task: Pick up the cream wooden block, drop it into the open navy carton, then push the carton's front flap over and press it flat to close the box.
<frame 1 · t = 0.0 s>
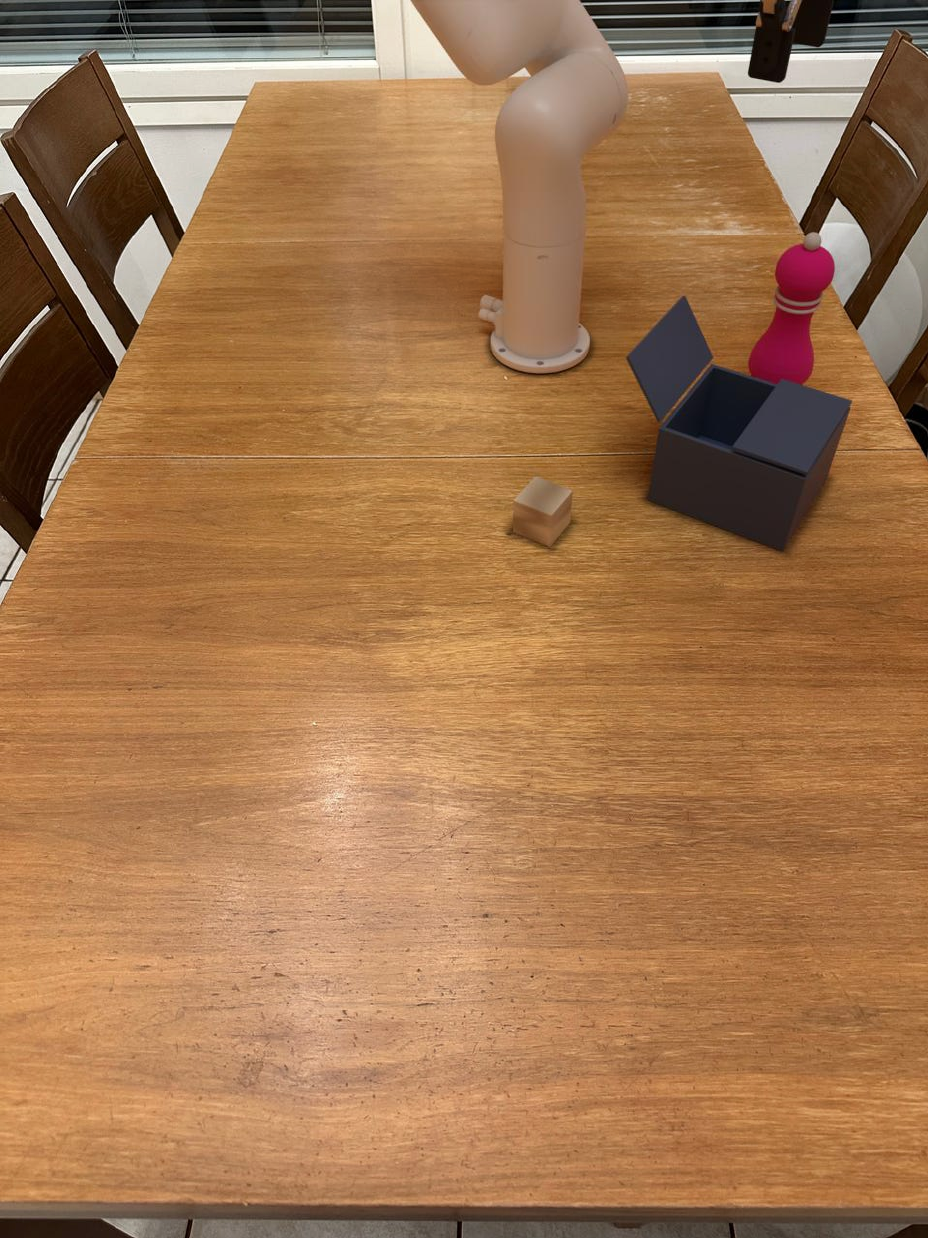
hand: (786, 60, 84), 37 cm above the table, tool pointing down, fingers open, 9 cm apart
pepper mill: (772, 397, 113), on the table
carton: (737, 489, 102), on the table
block: (541, 527, 99), on the table
flap: (671, 357, 95), point 13 cm above the table, hinge at 125.0°
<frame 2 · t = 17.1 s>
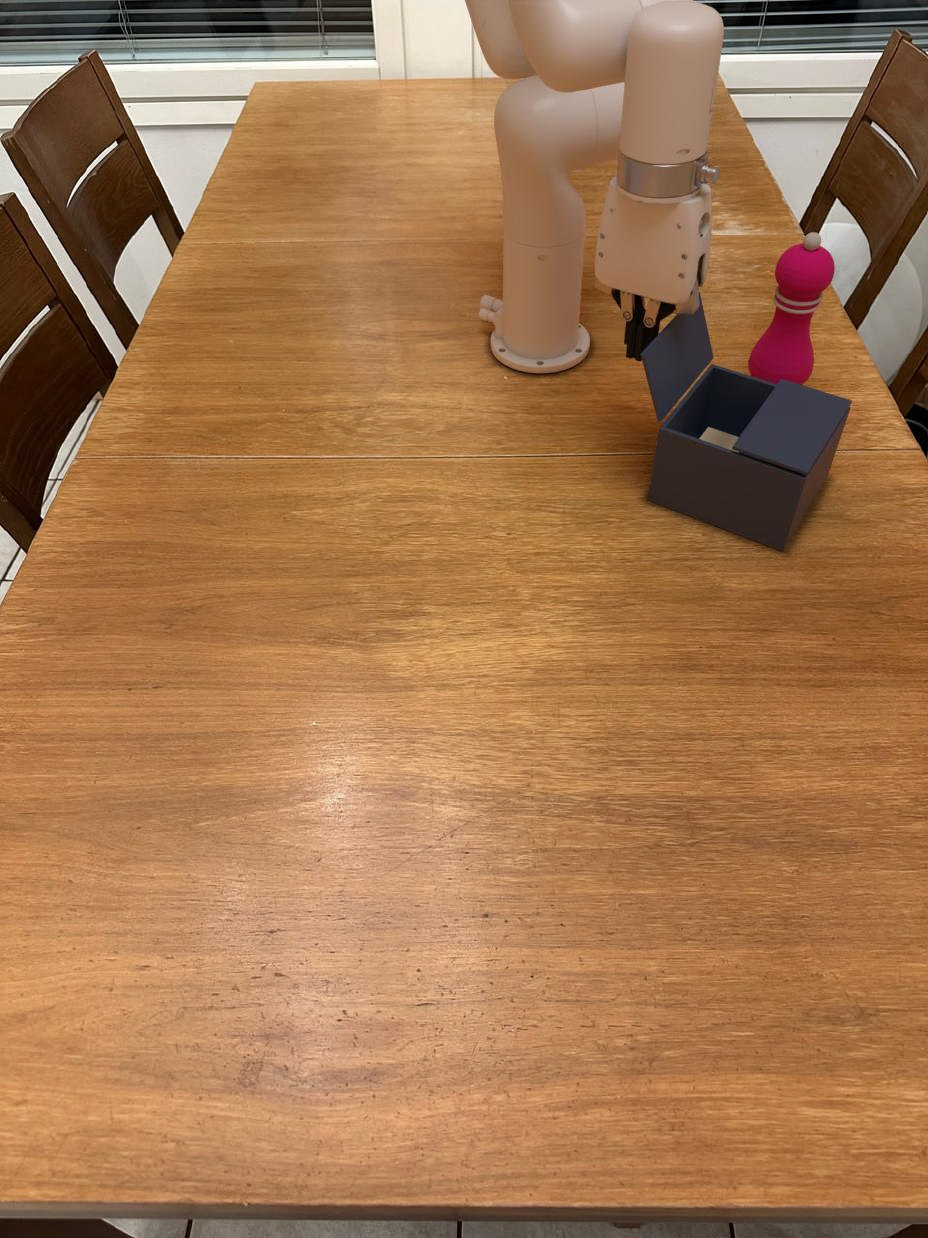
hand: (639, 353, 97), 13 cm above the table, tool pointing down, fingers closed
block: (712, 476, 102), resting on carton
flap: (679, 356, 95), point 14 cm above the table, hinge at 111.8°
everything else where it was.
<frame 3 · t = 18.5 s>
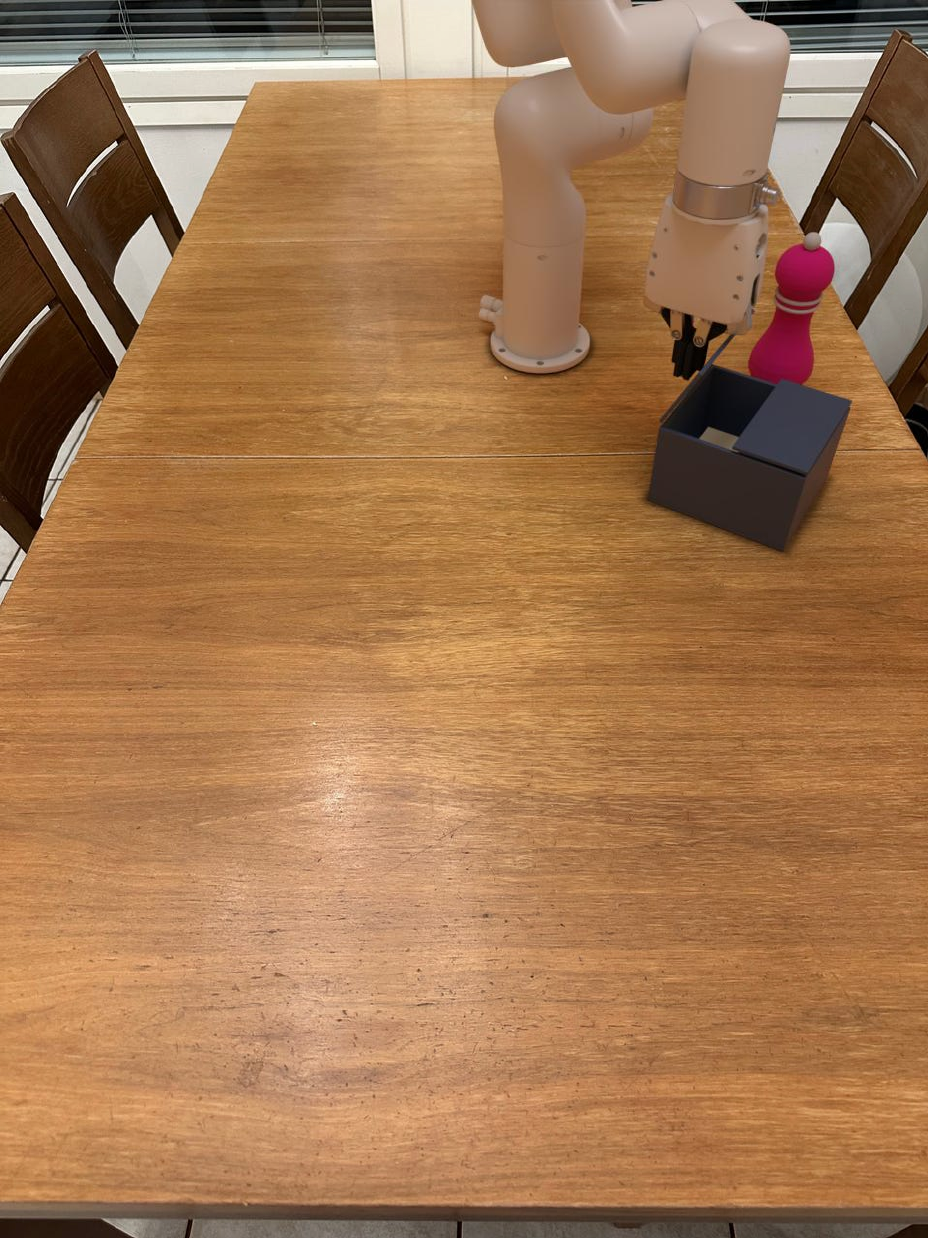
hand: (686, 371, 95), 12 cm above the table, tool pointing down, fingers closed
flap: (707, 365, 94), point 13 cm above the table, hinge at 64.5°, touching gripper
everything else where it was.
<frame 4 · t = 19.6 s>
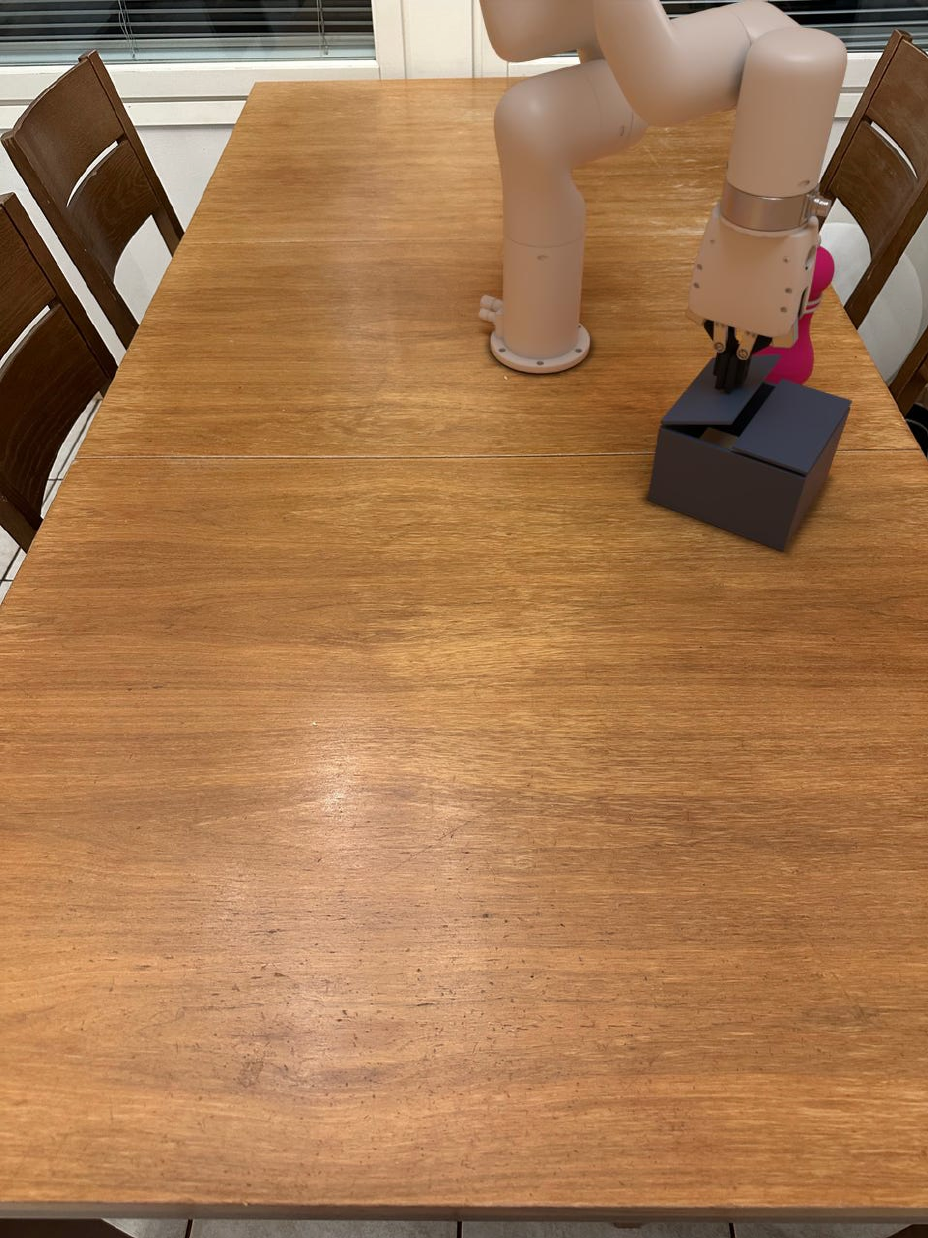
hand: (728, 384, 94), 12 cm above the table, tool pointing down, fingers closed
flap: (721, 388, 94), point 11 cm above the table, hinge at 21.0°, touching gripper
everything else where it was.
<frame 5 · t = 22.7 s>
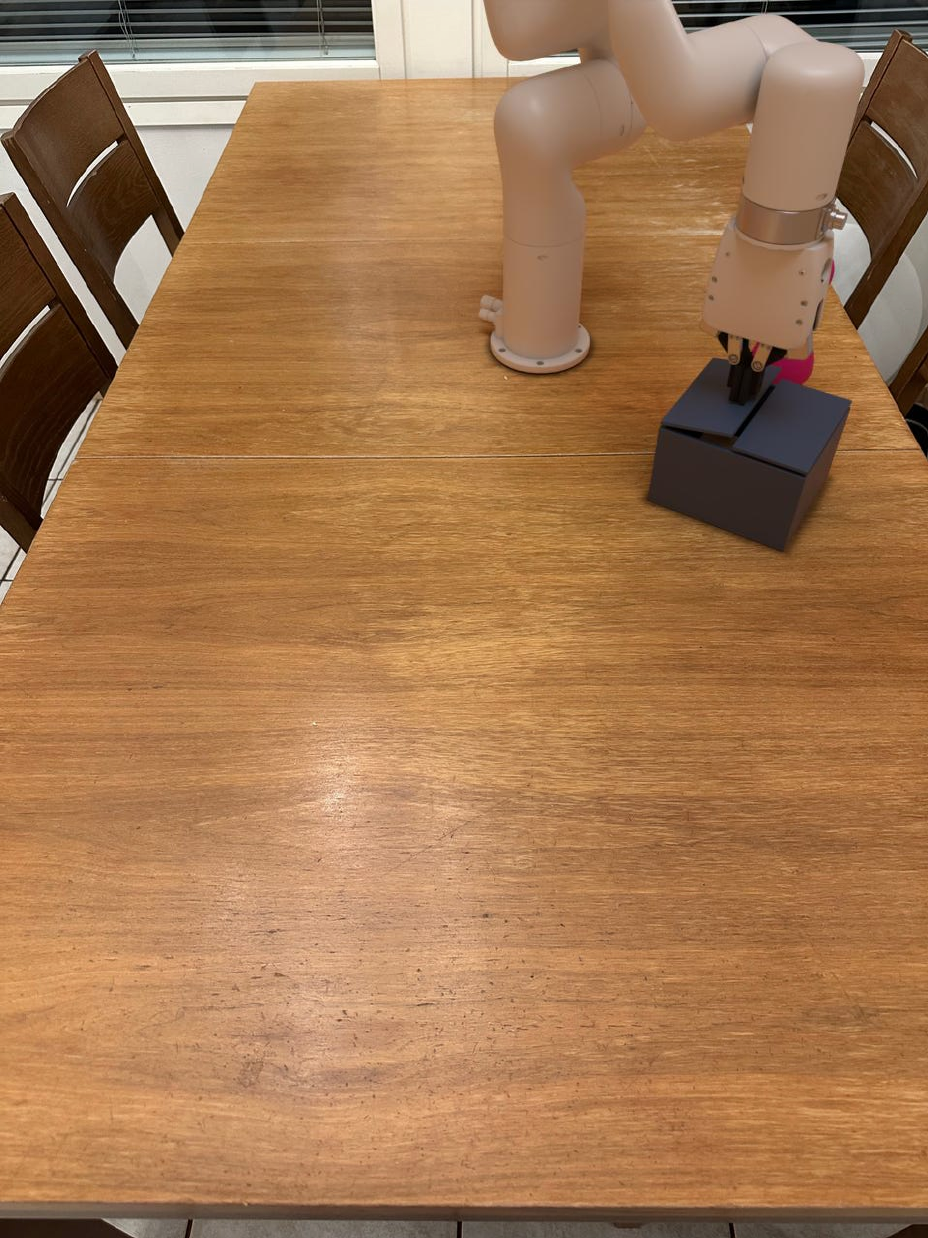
hand: (741, 395, 94), 11 cm above the table, tool pointing down, fingers closed
flap: (721, 395, 95), point 11 cm above the table, hinge at 9.9°, touching gripper
everything else where it was.
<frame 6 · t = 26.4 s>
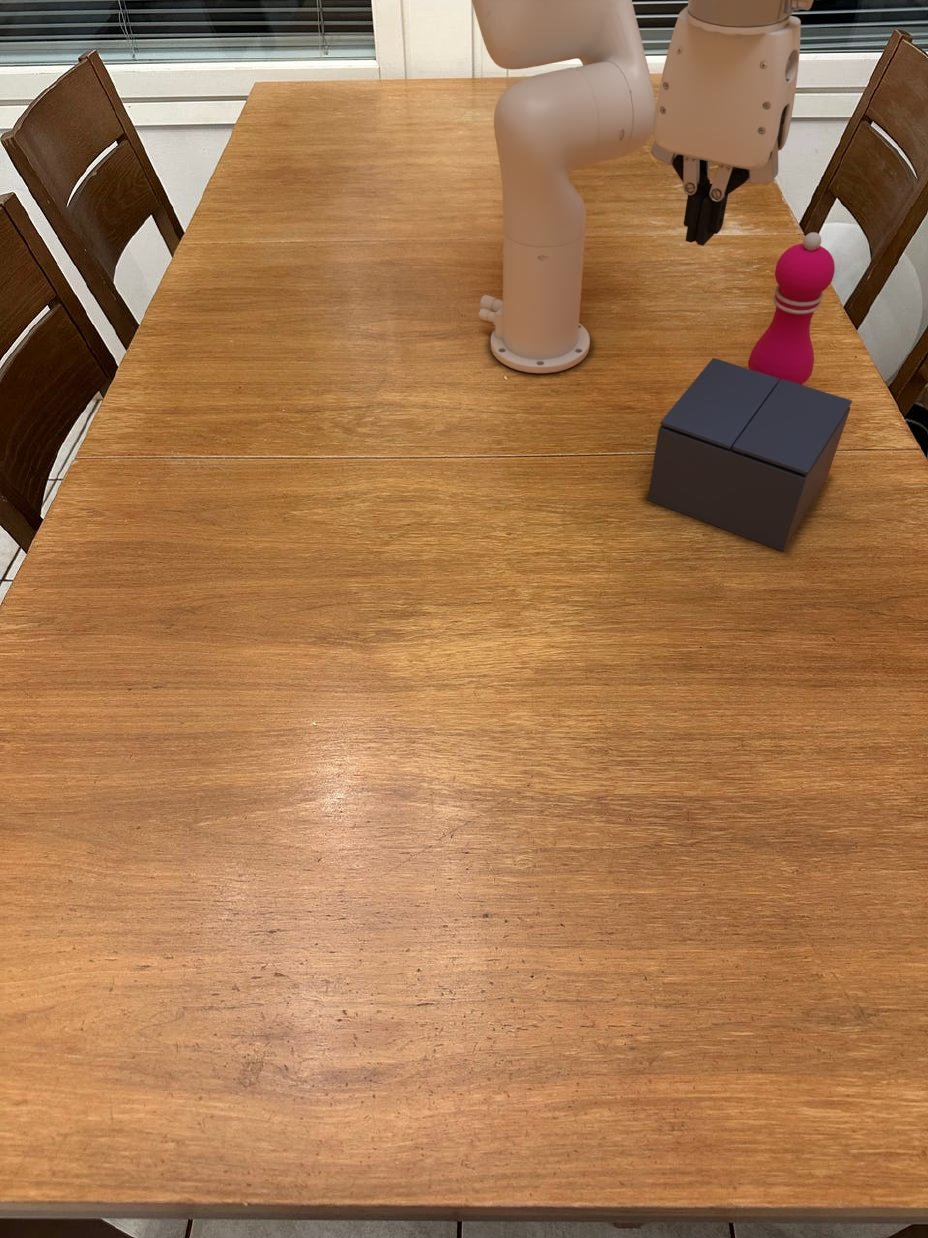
hand: (700, 236, 83), 27 cm above the table, tool pointing down, fingers closed
flap: (721, 401, 95), point 10 cm above the table, hinge at -0.6°
everything else where it was.
at the end: block inside the target area in the carton (3.0 cm from its centre), point 0.5 cm above the carton's base; flap at -1° (first picture: +125°) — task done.
